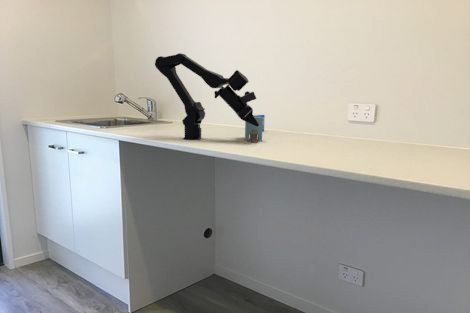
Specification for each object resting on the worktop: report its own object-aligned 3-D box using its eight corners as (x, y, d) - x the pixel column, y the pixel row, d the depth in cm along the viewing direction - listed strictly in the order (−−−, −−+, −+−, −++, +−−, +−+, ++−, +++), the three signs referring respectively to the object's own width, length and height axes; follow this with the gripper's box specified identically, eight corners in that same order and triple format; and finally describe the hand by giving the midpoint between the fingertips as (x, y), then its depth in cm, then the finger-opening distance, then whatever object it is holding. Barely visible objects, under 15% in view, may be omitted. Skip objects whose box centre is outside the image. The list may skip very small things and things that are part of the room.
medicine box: (255, 132, 186) (256, 115, 185) (248, 132, 189) (248, 115, 187) (264, 131, 193) (264, 114, 191) (257, 130, 195) (257, 114, 194)
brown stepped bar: (257, 142, 155) (257, 130, 154) (252, 142, 155) (252, 130, 154) (254, 138, 167) (254, 127, 166) (249, 138, 167) (249, 127, 166)
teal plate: (245, 141, 159) (246, 117, 157) (245, 139, 162) (245, 117, 160) (261, 141, 160) (262, 117, 158) (261, 140, 163) (261, 117, 161)
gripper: (247, 84, 147) (274, 113, 150) (243, 84, 165) (267, 109, 168) (227, 104, 148) (254, 132, 151) (225, 102, 166) (249, 127, 169)
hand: (256, 124), depth 160 cm, fingers open, 9 cm apart
